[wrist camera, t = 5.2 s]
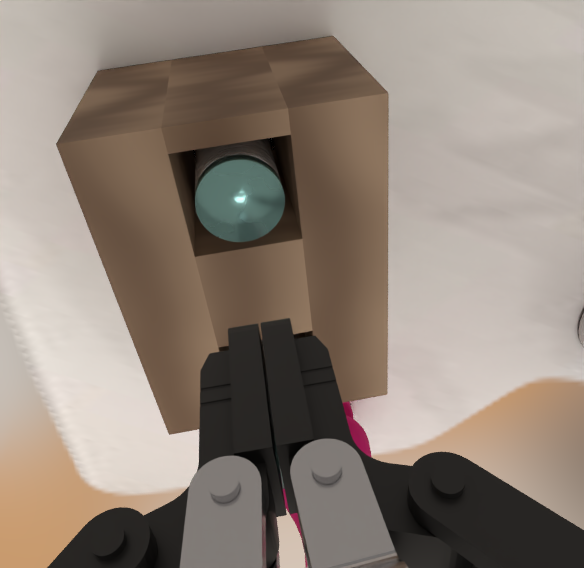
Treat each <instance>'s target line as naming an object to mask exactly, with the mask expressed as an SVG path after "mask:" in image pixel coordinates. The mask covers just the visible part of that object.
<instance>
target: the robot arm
mask: <svg viewBox="0 0 584 568" xmlns="http://www.w3.org/2000/svg"><path fill="white" fill-rule="evenodd" d="M261 332H262V340H263V346H262V341H261V335H260V330H259V325H258V323H257V324H251V325H245V326H239V327H233V328H228V342H229V350H227V351H221V352H215V353H209V355H208V357H207V359H206V361H205V363H204V365H203V367H202V368H201V370H200V391H201V392H200V428H199V466H198V470H197V473H196V474H195V475H194V477H193V479H192V481H191V483H190V486H189V487H188V488H187V489H186V490H185V491H184V492H183V493H182V494H181V495H180V496H179V497H177V498H176V499H175V500H173V501H171V502H170V503H168V504H166V505H164V506H162V507H160V508H158V509H156V510H154V511H152V512H150V513H148V514H146V515H144V516H143V515H142V514H141V513H140V512H138V511H136V510H134V509H131V508H114V509H111V510H107V511H105V512H103V513H101V514H99V515H97V516H96V517H94V518H93V519H92V520H91V521H89V522H88V523H87V524H86V525H85V526H84V527H83V528H82V530H81V531H80V532H79V533H78V534H77V535H76V536H75V537H74V538H73V540H72V541H71V542H70V543H69V544H68V545H67V547H65V548H64V550H63V551H62V552H61V553H60V554H59V555H58V556H57V557H56V559H55V560H54V561H53V562H52V563H51V564H50V565H49V566H48V568H279V567H280V565H279V551H278V550H279V536H278V527H277V519H276V517H278V516H284V515H286V507H285V499H284V492H283V484H284V489H285V494H286V499H287V504H288V509H289V513H290V514H294V513H298V519H299V524H300V530H301V535H302V540H303V546H304V551H305V556H306V560H307V565H308V568H584V530H582V529H581V528H579V527H577V526H576V525H574V524H573V523H571V522H569V521H567V520H566V519H564V518H563V517H561V516H559V515H558V514H556V513H554V512H553V511H551V510H550V509H548V508H546V507H545V506H543V505H541V504H540V503H538V502H536V501H535V500H533V499H532V498H530V497H528V496H527V495H525V494H524V493H522V492H520V491H519V490H517V489H515V488H513V487H512V486H510V485H509V484H507V483H505V482H504V481H502V480H501V479H499V478H497V477H496V476H494V475H492V474H491V473H489V472H488V471H486V470H484V469H483V468H481V467H479V466H478V465H476V464H474V463H473V462H471V461H470V460H468V459H466V458H464V457H462V456H460V455H457V454H453V453H449V452H435V453H430V454H427V455H425V456H423V457H422V458H420V459H419V460H418V461H416V462H415V463H414V465H413V466H407V465H399V464H390V463H385V462H381V461H378V460H375V459H373V458H371V457H369V456H368V455H366V454H365V453H364V452H363V451H361V450H360V449H359V448H358V446H357V445H356V444H355V442H354V440H353V438H352V436H351V433H350V429H349V425H348V422H347V418H346V414H345V411H344V407H343V403H342V399H341V396H340V392H339V388H338V385H337V382H336V377H335V374H334V370H333V367H332V362H331V359H330V355H329V351H328V349H327V347H326V346H325V345H324V344H323V343H322V342H321V341H320V340H319V339H318V338H317V337H316V336H309V337H303V338H297V339H294V335H293V330H292V325H291V320H290V318H286V319H280V320H274V321H268V322H262V323H261ZM578 332H579V339H580V341H581V343H582V345H583V347H584V313H583V315H582V318H581V320H580V324H579V331H578ZM263 348H264V351H263ZM264 355H265V356H264ZM281 474H282V476H281ZM282 479H283V484H282Z"/></svg>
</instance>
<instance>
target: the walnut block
mask: <svg viewBox="0 0 584 568" xmlns="http://www.w3.org/2000/svg"><path fill="white" fill-rule="evenodd" d="M273 137H274V145H275V150H273V151H272V153H273V157H274V160H275V163H276V167H277V170H278V174H279V177H280V181H281V184H282V187H283V191H284V196H285V207H284V211H283V214H282V217H281V218H280V220H279V222H278V223H277V225H276V226H275V227H274V228H273V229H272V230H271V231H270V232H268V233H267V234H265V235H264V236H262V237H260V238H258V239H255V240H252V241H247V242H232V241H227V240H224V239H221V238H219V237H217V236H215V235H213V234H212V233H210V232H209V231H208V230H207V229H206V228H205V227H204V226H203V225H202V223H201V222H200V220H199V218H198V216H197V212H196V208H195V159H194V155H193V150H196V149H203V148H209V147H215V146H222V145H228V144H234V143H241V142H247V141H253V140H260V139H266V138H273ZM56 145H57V148H58V150H59V153H60V155H61V158H62V160H63V163H64V166H65V168H66V171H67V173H68V176H69V178H70V181H71V184H72V186H73V189H74V191H75V194H76V196H77V199H78V202H79V204H80V207H81V209H82V212H83V214H84V217H85V220H86V222H87V225H88V227H89V230H90V232H91V235H92V238H93V240H94V243H95V245H96V248H97V250H98V253H99V256H100V258H101V261H102V263H103V266H104V268H105V271H106V274H107V276H108V279H109V281H110V284H111V286H112V289H113V292H114V294H115V297H116V299H117V302H118V304H119V307H120V310H121V312H122V315H123V317H124V320H125V322H126V325H127V328H128V330H129V333H130V335H131V338H132V340H133V343H134V346H135V348H136V351H137V353H138V356H139V358H140V361H141V364H142V366H143V369H144V371H145V374H146V376H147V379H148V382H149V384H150V387H151V389H152V392H153V394H154V397H155V400H156V402H157V405H158V407H159V410H160V412H161V415H162V418H163V420H164V423H165V425H166V428H167V430H168V433H169V435H170V434H175V433H181V432H186V431H192V430H197V429H199V428H200V392H201V391H200V370H201V368H202V367H203V365H204V363H205V361H206V359H207V357H208V355H209V353H215V352H221V351H227V350H229V342H228V328H233V327H239V326H245V325H251V324H257V323H258V325H259V330H260V335H261V340H262V332H261V323H262V322H268V321H274V320H280V319H286V318H290V320H291V325H292V330H293V334H297V333H298V335H299V338H303V337H309V336H316V337H317V338H318V339H319V340H320V341H321V342H322V343H323V344H324V345H325V346H326V347H327V349H328V351H329V355H330V359H331V362H332V367H333V370H334V374H335V377H336V382H337V385H338V388H339V392H340V396H341V399H342V403H343V402H349V401H354V400H360V399H365V398H370V397H376V396H381V395H387V351H388V92H387V91H386V90H385V89H384V88H383V87H382V86H381V85H380V84H379V83H378V82H377V81H376V80H375V79H374V78H373V77H372V75H371V74H370V73H369V72H368V71H367V70H366V69H365V68H364V67H363V66H362V65H361V64H360V63H359V62H358V61H357V60H356V59H355V58H354V57H353V56H352V55H351V54H350V53H349V52H348V51H347V50H346V49H345V48H344V47H343V46H342V45H341V44H340V42H339V41H338V40H337V39H336V38H335V37H334V36H330V37H323V38H317V39H310V40H303V41H296V42H290V43H283V44H276V45H269V46H262V47H256V48H249V49H242V50H235V51H229V52H222V53H215V54H208V55H202V56H195V57H188V58H181V59H175V60H168V61H161V62H154V63H147V64H141V65H134V66H127V67H120V68H114V69H107V70H100V71H97V73H96V75H95V77H94V78H93V80H92V82H91V84H90V86H89V87H88V89H87V91H86V93H85V94H84V96H83V98H82V100H81V101H80V103H79V105H78V107H77V108H76V110H75V112H74V114H73V115H72V117H71V119H70V121H69V122H68V124H67V126H66V128H65V130H64V131H63V133H62V135H61V137H60V138H59V140H58V142H57V144H56Z"/></svg>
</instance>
